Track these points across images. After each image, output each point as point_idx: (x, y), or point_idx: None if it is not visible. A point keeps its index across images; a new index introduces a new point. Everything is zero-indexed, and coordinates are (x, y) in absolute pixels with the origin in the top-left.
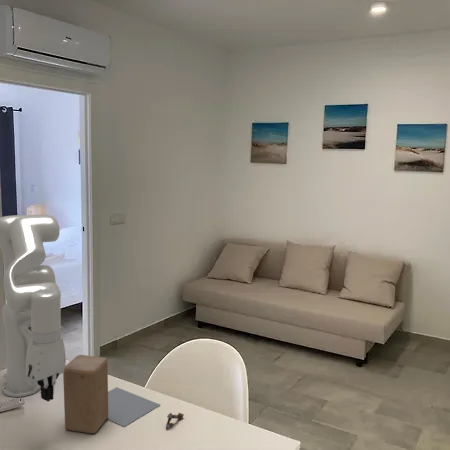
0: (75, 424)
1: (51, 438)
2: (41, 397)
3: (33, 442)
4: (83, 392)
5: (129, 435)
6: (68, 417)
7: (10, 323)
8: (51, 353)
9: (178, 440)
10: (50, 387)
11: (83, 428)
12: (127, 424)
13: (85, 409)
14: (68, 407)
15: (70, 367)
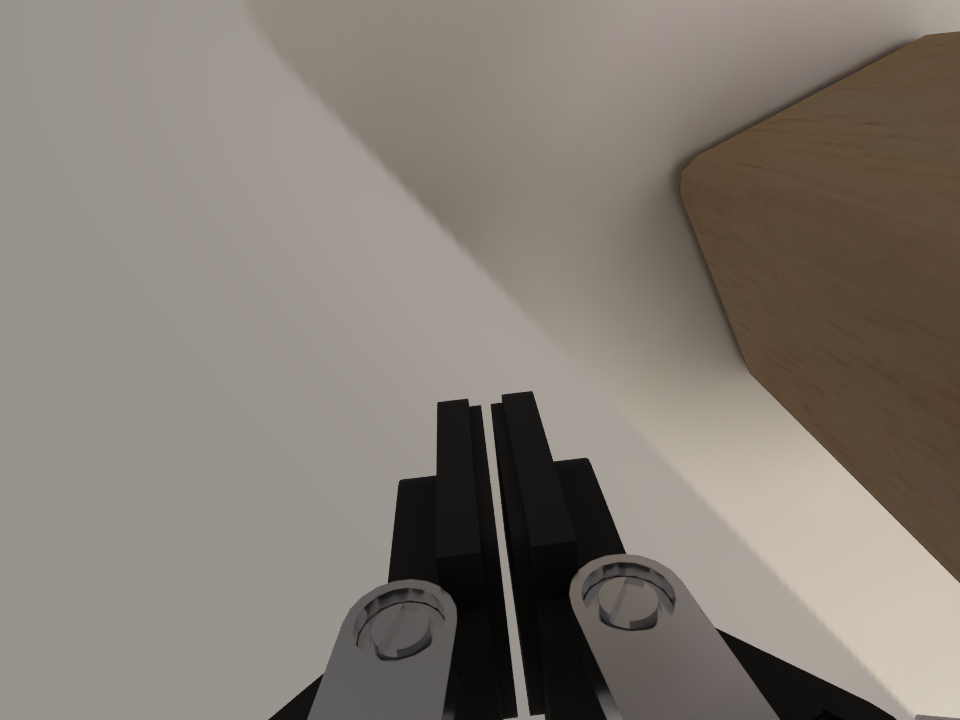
0: (723, 275)
1: (537, 191)
2: (437, 409)
3: (412, 137)
4: (952, 523)
5: (861, 510)
6: (724, 233)
7: None
8: None
9: (944, 684)
10: (529, 710)
11: (736, 324)
12: None
13: (828, 420)
14: (772, 261)
15: None
